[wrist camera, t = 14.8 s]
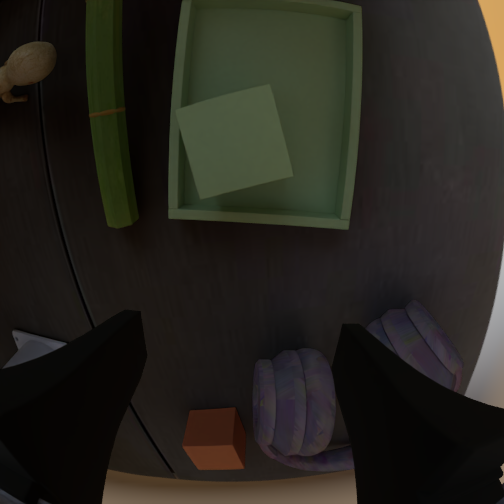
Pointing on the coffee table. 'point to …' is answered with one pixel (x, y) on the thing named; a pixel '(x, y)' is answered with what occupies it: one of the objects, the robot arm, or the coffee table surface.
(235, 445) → the terracotta block
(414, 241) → the coffee table surface
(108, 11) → the decorative plant
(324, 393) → the headphones
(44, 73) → the figurine
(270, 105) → the sage block
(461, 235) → the coffee table surface
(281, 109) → the sage tray
